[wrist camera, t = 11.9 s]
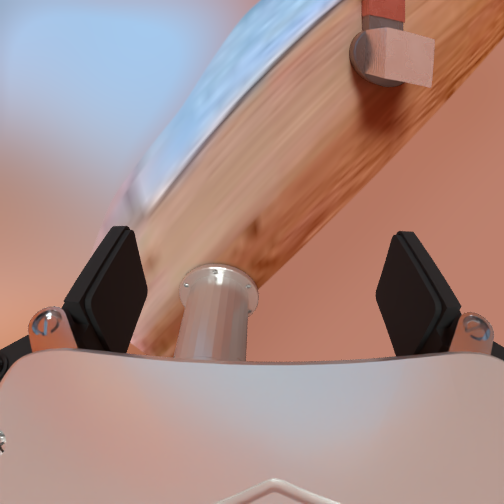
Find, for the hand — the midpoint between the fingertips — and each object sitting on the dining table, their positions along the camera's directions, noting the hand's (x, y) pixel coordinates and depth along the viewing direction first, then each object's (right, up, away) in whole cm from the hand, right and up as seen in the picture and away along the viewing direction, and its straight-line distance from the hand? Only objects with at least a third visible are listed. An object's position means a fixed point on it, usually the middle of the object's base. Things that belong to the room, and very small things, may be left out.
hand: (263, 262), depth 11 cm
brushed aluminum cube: (+14, +21, +15) cm, 29 cm away
